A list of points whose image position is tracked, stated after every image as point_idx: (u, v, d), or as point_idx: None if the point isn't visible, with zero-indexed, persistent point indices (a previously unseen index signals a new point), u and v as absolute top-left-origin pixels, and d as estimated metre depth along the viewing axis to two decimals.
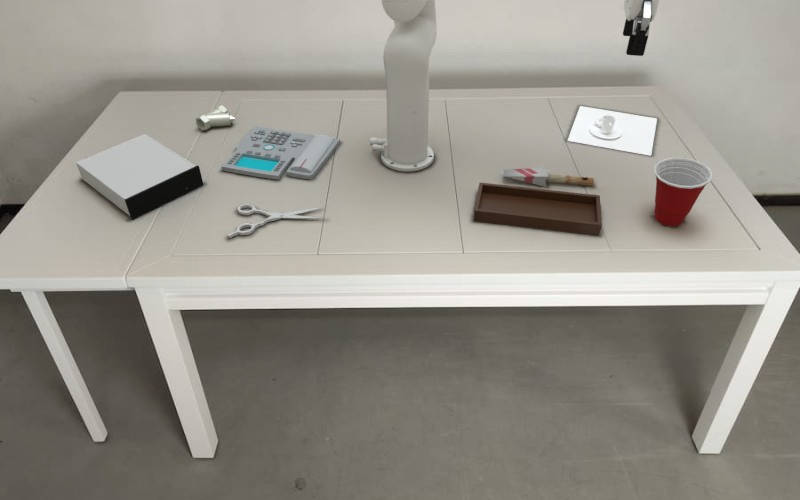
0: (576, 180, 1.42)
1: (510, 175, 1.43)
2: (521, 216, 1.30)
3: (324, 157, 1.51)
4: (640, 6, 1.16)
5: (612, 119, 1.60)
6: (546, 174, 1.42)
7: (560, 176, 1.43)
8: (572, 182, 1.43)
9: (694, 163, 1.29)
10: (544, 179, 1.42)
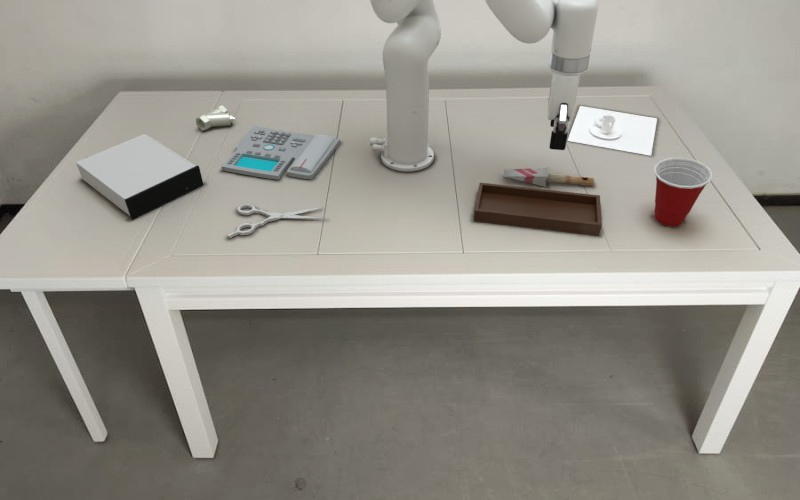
0: (576, 180, 1.42)
1: (510, 175, 1.43)
2: (521, 216, 1.30)
3: (324, 157, 1.51)
4: (558, 109, 1.27)
5: (612, 119, 1.60)
6: (546, 174, 1.42)
7: (560, 176, 1.43)
8: (572, 182, 1.43)
9: (694, 163, 1.29)
10: (544, 179, 1.42)
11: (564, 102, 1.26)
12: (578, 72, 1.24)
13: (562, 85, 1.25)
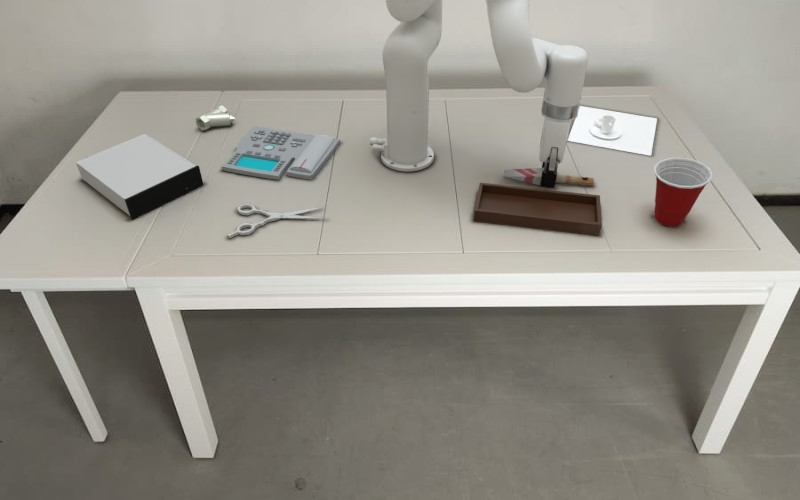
0: (576, 180, 1.42)
1: (510, 175, 1.43)
2: (521, 216, 1.30)
3: (324, 157, 1.51)
4: (549, 152, 1.34)
5: (612, 119, 1.60)
6: None
7: (560, 176, 1.43)
8: (572, 182, 1.43)
9: (694, 163, 1.29)
10: None
11: (555, 146, 1.33)
12: (568, 119, 1.30)
13: (553, 131, 1.31)
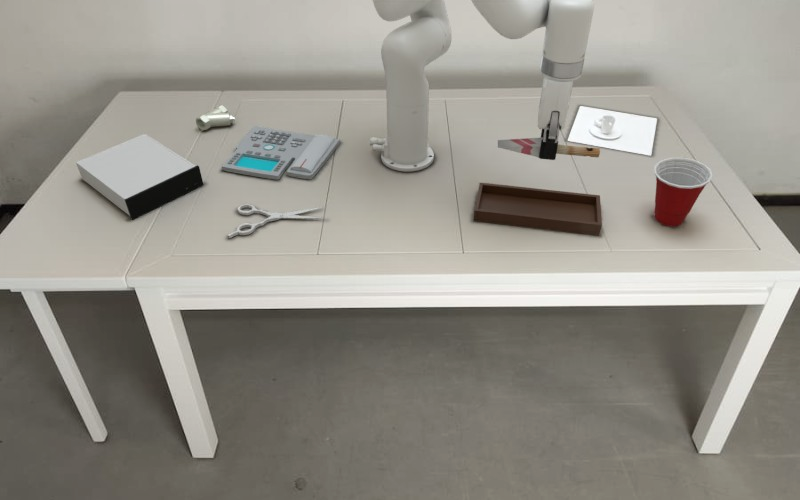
0: (579, 150, 1.26)
1: (505, 146, 1.27)
2: (521, 216, 1.30)
3: (324, 157, 1.51)
4: (549, 117, 1.17)
5: (612, 119, 1.60)
6: None
7: (562, 146, 1.26)
8: (575, 153, 1.26)
9: (694, 163, 1.29)
10: None
11: (556, 110, 1.16)
12: (571, 78, 1.14)
13: (554, 92, 1.15)
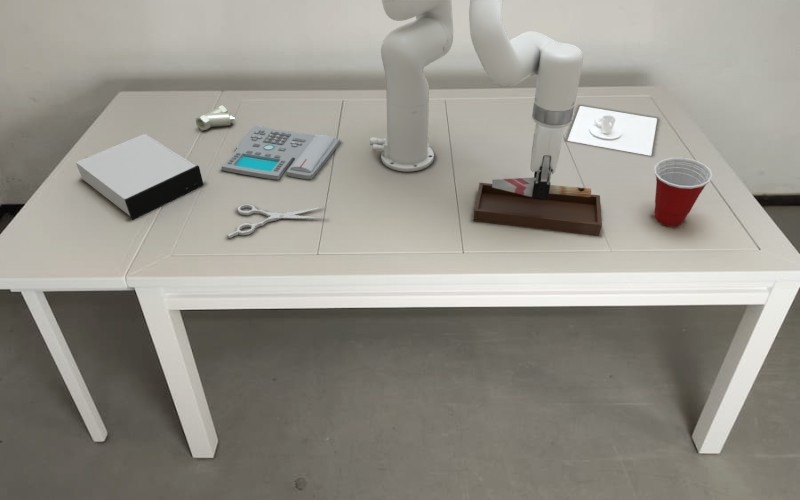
0: (571, 191, 1.30)
1: (499, 186, 1.31)
2: (521, 216, 1.30)
3: (324, 157, 1.51)
4: (541, 161, 1.21)
5: (612, 119, 1.60)
6: None
7: (554, 186, 1.30)
8: (567, 193, 1.30)
9: (694, 163, 1.29)
10: None
11: (547, 154, 1.20)
12: (562, 124, 1.18)
13: (545, 138, 1.19)
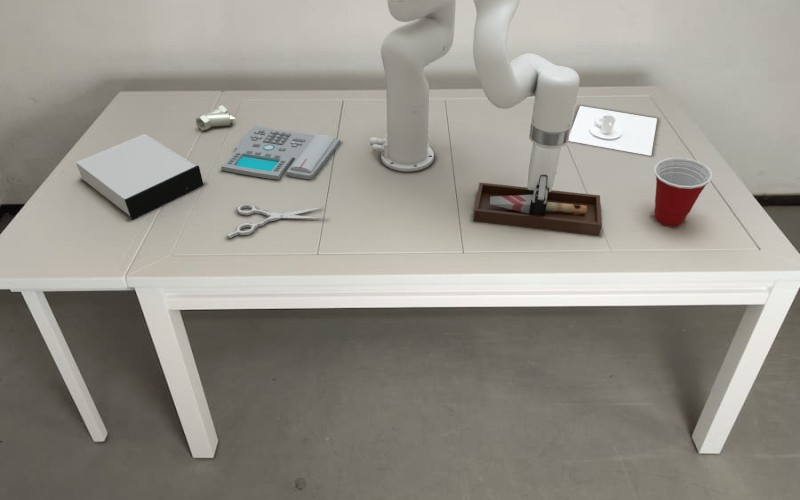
0: (567, 208, 1.33)
1: (497, 203, 1.34)
2: (521, 216, 1.30)
3: (324, 157, 1.51)
4: (537, 180, 1.24)
5: (612, 119, 1.60)
6: None
7: (551, 204, 1.33)
8: (563, 210, 1.33)
9: (694, 163, 1.29)
10: None
11: (544, 174, 1.23)
12: (558, 145, 1.21)
13: (542, 158, 1.21)
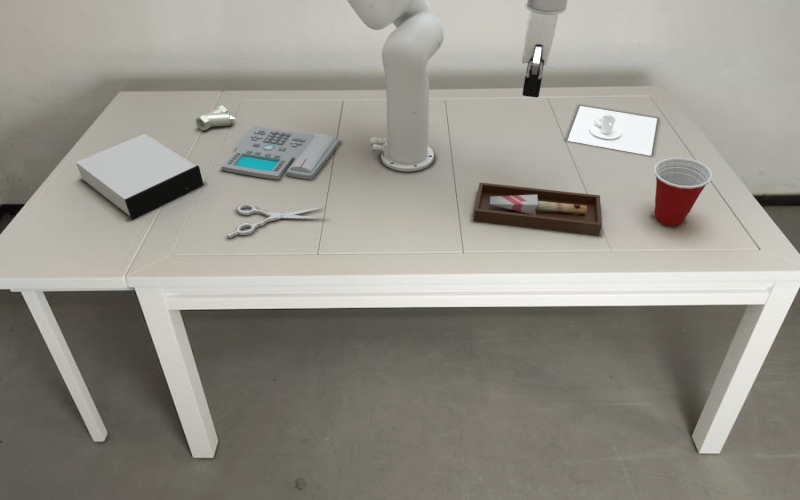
0: (567, 208, 1.33)
1: (497, 203, 1.34)
2: (521, 216, 1.30)
3: (324, 157, 1.51)
4: (532, 51, 1.20)
5: (612, 119, 1.60)
6: (535, 202, 1.32)
7: (551, 204, 1.33)
8: (563, 210, 1.33)
9: (694, 163, 1.29)
10: (533, 207, 1.32)
11: (539, 43, 1.19)
12: (555, 11, 1.16)
13: (538, 25, 1.17)
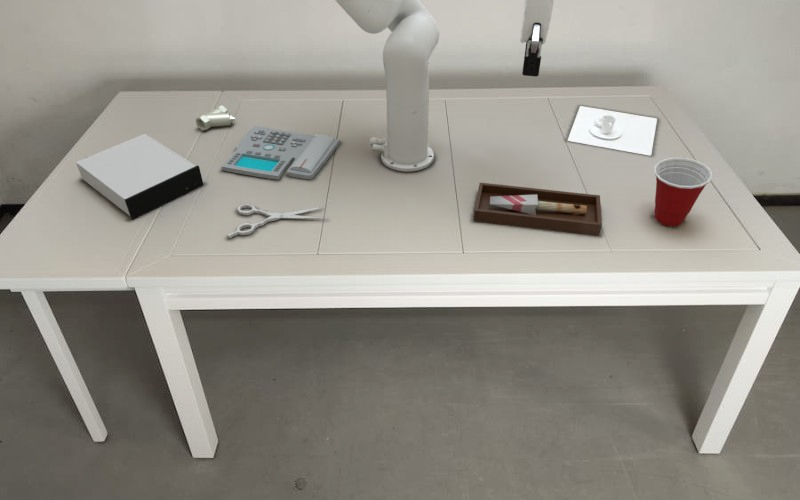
0: (567, 208, 1.33)
1: (497, 203, 1.34)
2: (521, 216, 1.30)
3: (324, 157, 1.51)
4: (531, 29, 1.21)
5: (612, 119, 1.60)
6: (535, 202, 1.32)
7: (551, 204, 1.33)
8: (563, 210, 1.33)
9: (694, 163, 1.29)
10: (533, 207, 1.32)
11: (537, 22, 1.20)
12: None
13: (535, 3, 1.18)
